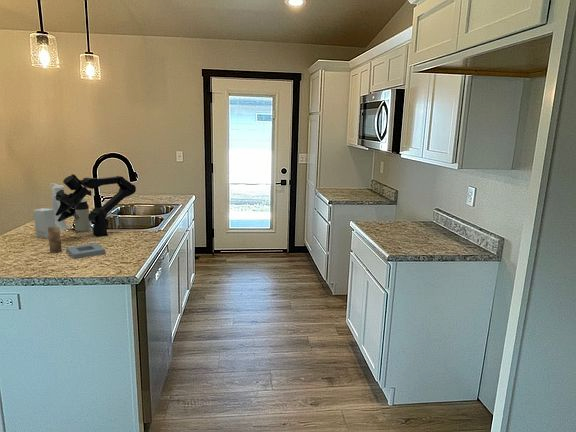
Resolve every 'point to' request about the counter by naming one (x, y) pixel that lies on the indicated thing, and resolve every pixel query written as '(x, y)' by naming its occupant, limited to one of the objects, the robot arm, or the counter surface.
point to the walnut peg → (54, 239)
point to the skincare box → (43, 221)
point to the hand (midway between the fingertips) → (57, 218)
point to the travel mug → (82, 216)
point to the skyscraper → (57, 207)
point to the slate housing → (85, 250)
